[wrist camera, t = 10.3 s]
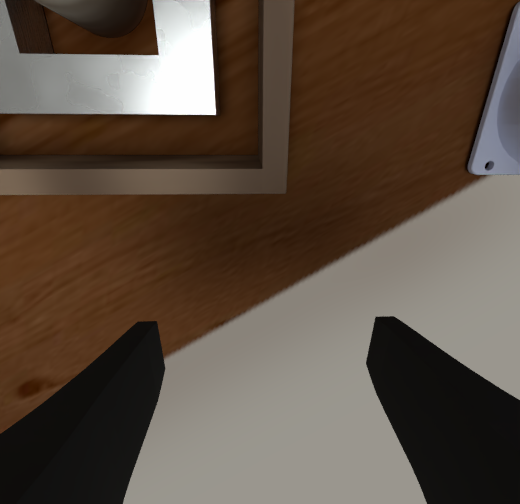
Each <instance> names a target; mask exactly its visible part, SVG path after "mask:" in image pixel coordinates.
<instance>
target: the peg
mask: <svg viewBox="0 0 520 504" xmlns="http://www.w3.org/2000/svg"><path fill="white" fill-rule="evenodd" d="M34 1H36V2H38V3H40V4H42V5H43V6H45V7H47V8H49V9H50V10H52V11H54V12H56V13H58V14H59V15H61V16H63V17H65V18H66V19H68V20H70V21H72V22H74V23H75V24H77V25H79V26H81V27H83V28H84V29H86V30H88V31H90V32H92V33H94V34H96V35H99V36H102V37H107V38H115V37H121V36H124V35H126V34H128V33H129V32H131V31H132V30H133V29H134V28H135V27H136V26H137V25H138V24H139V23H140V21H141V19H142V17H143V15H144V12H145V9H146V5H147V0H34Z"/></svg>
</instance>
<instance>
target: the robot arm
mask: <svg viewBox="0 0 520 504" xmlns="http://www.w3.org/2000/svg"><path fill="white" fill-rule="evenodd" d="M487 162H489V165H488V167H487V168H486V169H485V165H486V163H487ZM468 171H469V172H470V173H472V174H476V175H520V2H518V3H517V5H516V6H515V8H514V10H513V12H512V16H511V19H510V23H509V26H508V29H507V33H506V36H505V40H504V43H503V47H502V50H501V53H500V57H499V60H498V64H497V67H496V71H495V74H494V77H493V81H492V84H491V88H490V91H489V95H488V98H487V101H486V105H485V108H484V112H483V115H482V119H481V122H480V125H479V129H478V132H477V136H476V139H475V143H474V146H473V149H472V153H471V156H470V160H469V163H468ZM366 365H367V368H368V370H369V374H370V377H371V380H372V383H373V385H374V388H375V391H376V393H377V396H378V398H379V400H380V402H381V404H382V406H383V409H384V411H385V413H386V415H387V417H388V419H389V421H390V423H391V425H392V427H393V429H394V431H395V433H396V435H397V437H398V439H399V442H400V444H401V445H402V447H403V450H404V452H405V454H406V456H407V458H408V460H409V462H410V464H411V466H412V468H413V470H414V473H415V475H416V477H417V480H418V482H419V484H420V487H421V489H422V492H423V494H424V497H425V499H426V502H427V504H520V400H518V399H517V398H515V397H513V396H512V395H510V394H508V393H507V392H505V391H503V390H502V389H500V388H499V387H497V386H495V385H494V384H492V383H491V382H489V381H488V380H486V379H484V378H483V377H481V376H480V375H478V374H477V373H475V372H473V371H472V370H470V369H469V368H468V367H466V366H464V365H463V364H462V363H460V362H458V361H457V360H456V359H454V358H453V357H451V356H450V355H448V354H447V353H445V352H444V351H443V350H441V349H440V348H438V347H437V346H436V345H434V344H433V343H431V342H430V341H429V340H427V339H426V338H424V337H423V336H421V335H420V334H419V333H417V332H416V331H414V330H413V329H411V328H410V327H409V326H407V325H406V324H404V323H403V322H402V321H400V320H399V319H397V318H395V317H393V316H390V317H376V318H375V322H374V328H373V332H372V337H371V342H370V346H369V351H368V357H367V361H366ZM164 372H165V364H164V359H163V353H162V347H161V342H160V336H159V330H158V325H157V321H147V322H137V323H136V324H135V325H134V326H132V327H131V328H130V329H129V330H128V331H127V332H126V333H125V334H124V335H122V336H121V337H120V338H119V339H118V340H117V341H116V342H115V343H114V344H113V345H111V346H110V347H109V348H108V349H107V350H106V351H105V352H104V353H103V354H101V355H100V356H99V357H98V358H97V359H96V360H95V361H93V362H92V363H91V364H90V365H89V366H88V367H87V368H86V369H84V370H83V371H82V372H81V373H79V374H78V375H77V376H76V377H75V378H73V379H72V380H71V381H70V382H68V383H67V384H66V385H65V386H64V387H62V388H61V389H60V390H59V391H58V392H56V393H55V394H54V395H53V396H51V397H50V398H49V399H48V400H46V401H45V402H44V403H42V404H41V405H40V406H38V407H37V408H36V409H34V410H33V411H32V412H30V413H29V414H28V415H26V416H25V417H24V418H22V419H21V420H19V421H18V422H17V423H15V424H14V425H12V426H11V427H10V428H8V429H7V430H5V431H4V432H3V433H1V434H0V504H123V500H124V497H125V494H126V490H127V487H128V484H129V481H130V478H131V475H132V472H133V469H134V467H135V464H136V461H137V458H138V455H139V453H140V450H141V447H142V444H143V441H144V439H145V436H146V433H147V430H148V427H149V424H150V422H151V419H152V416H153V413H154V410H155V407H156V405H157V402H158V398H159V394H160V390H161V385H162V381H163V376H164Z"/></svg>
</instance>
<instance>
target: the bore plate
mask: <svg viewBox="0 0 520 504" xmlns="http://www.w3.org/2000/svg"><path fill="white" fill-rule="evenodd" d="M153 7H154V16H155V25H156V33H157V42H158V50H159V55H88V54H54V52H53V48H52V43H51V39H50V35H49V31H48V27H47V23H46V19H45V15H44V11H43V6H42V4H40V3H38V2H36V1H34V0H0V114H73V115H220V96H219V75H218V53H217V32H216V11H215V0H153Z"/></svg>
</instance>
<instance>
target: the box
mask: <svg viewBox="0 0 520 504" xmlns="http://www.w3.org/2000/svg"><path fill="white" fill-rule="evenodd" d="M293 23H294V0H259V58H258V155H0V195H101V194H286V188H287V165H288V141H289V117H290V94H291V70H292V47H293Z"/></svg>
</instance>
